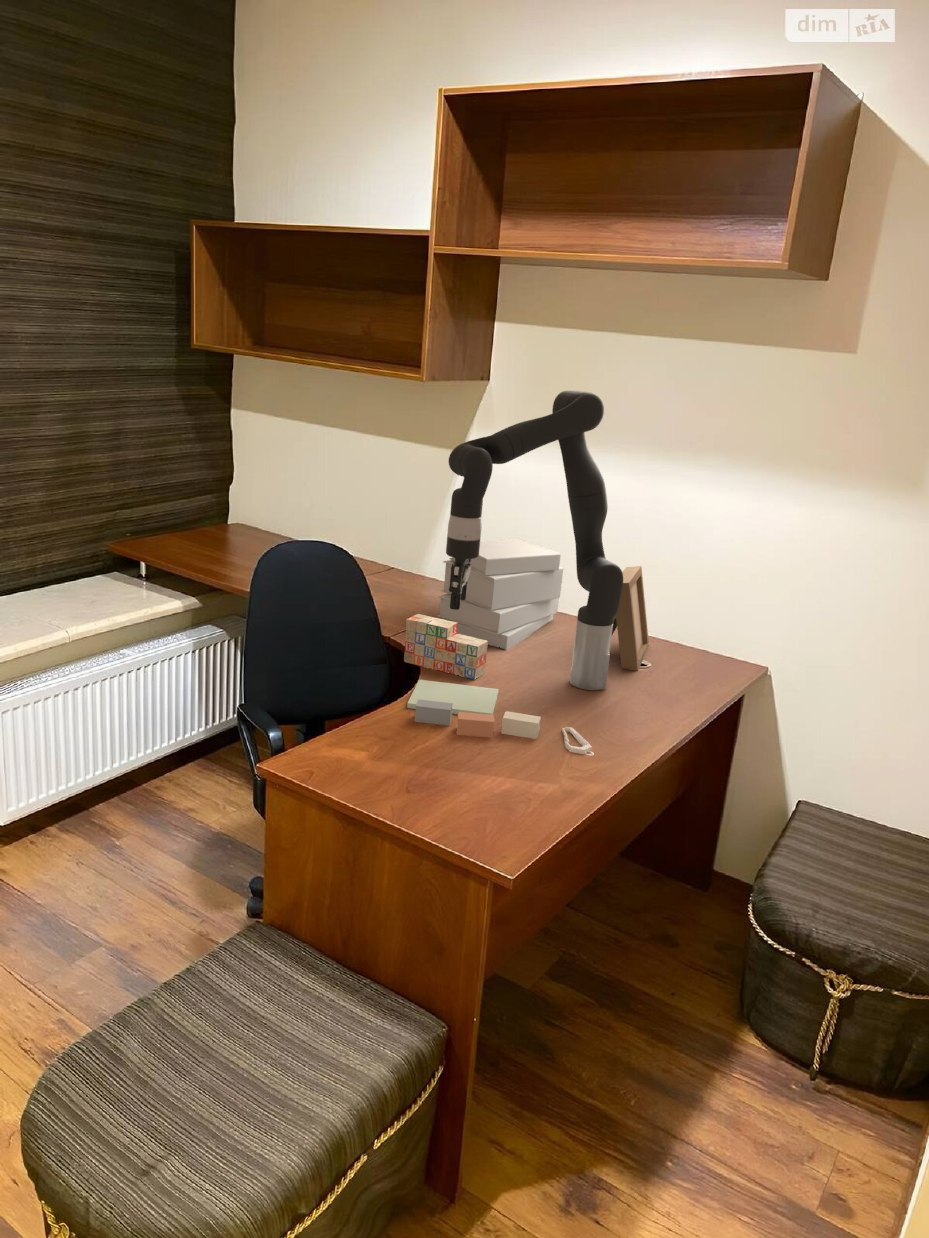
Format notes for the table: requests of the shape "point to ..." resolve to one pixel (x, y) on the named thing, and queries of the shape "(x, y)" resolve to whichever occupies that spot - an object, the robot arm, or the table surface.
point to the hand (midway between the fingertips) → (457, 604)
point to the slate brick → (433, 712)
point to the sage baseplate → (456, 696)
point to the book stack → (506, 592)
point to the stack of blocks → (443, 647)
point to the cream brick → (521, 725)
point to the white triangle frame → (585, 744)
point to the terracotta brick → (475, 724)
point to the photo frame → (632, 620)
